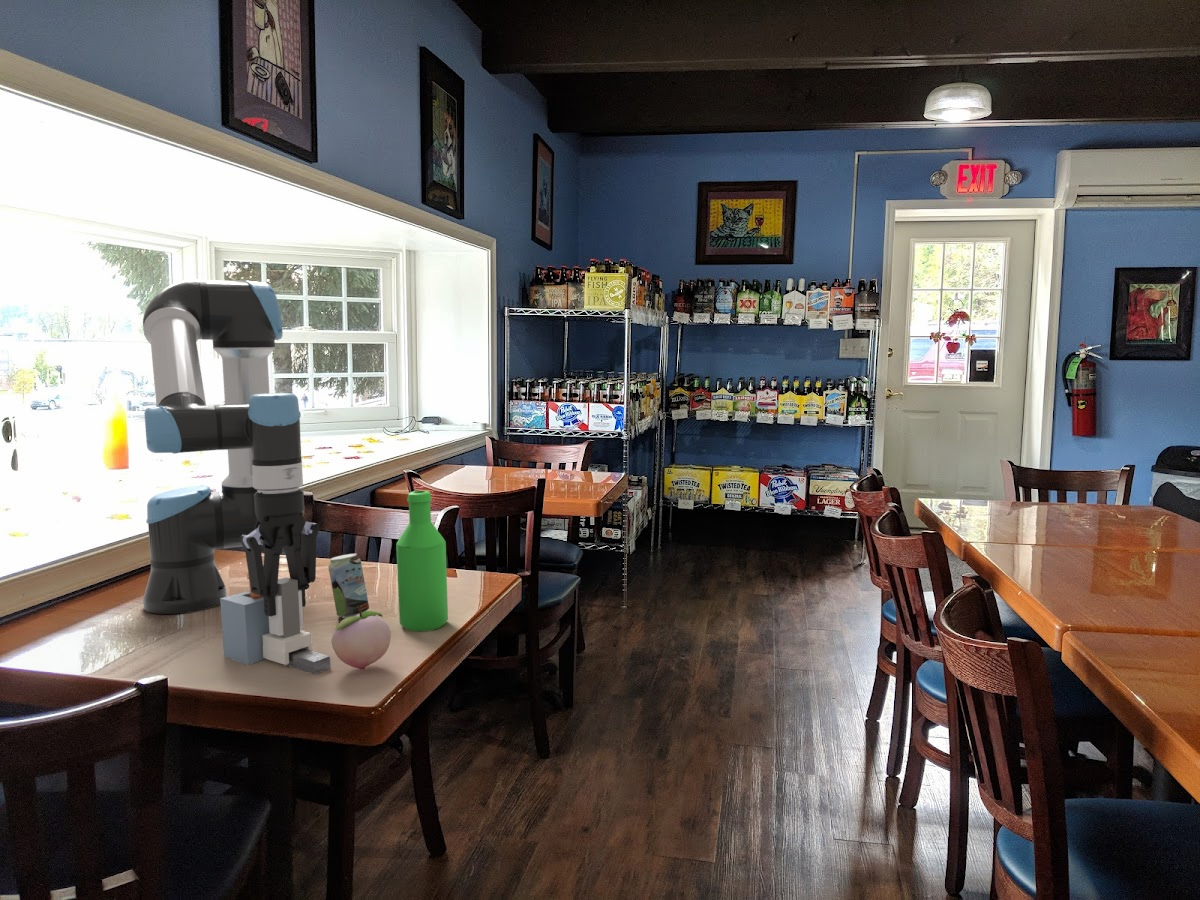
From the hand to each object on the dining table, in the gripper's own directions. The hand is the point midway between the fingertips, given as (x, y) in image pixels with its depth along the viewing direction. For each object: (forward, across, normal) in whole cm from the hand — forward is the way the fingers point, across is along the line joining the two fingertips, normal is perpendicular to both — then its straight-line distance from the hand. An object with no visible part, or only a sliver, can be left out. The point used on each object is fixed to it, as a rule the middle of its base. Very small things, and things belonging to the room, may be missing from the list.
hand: (286, 630), depth 140 cm
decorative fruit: (+5, +4, -14) cm, 16 cm away
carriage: (+5, 0, 0) cm, 5 cm away
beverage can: (+5, +21, +10) cm, 24 cm away
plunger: (-4, 0, +7) cm, 8 cm away
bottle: (+5, +25, -6) cm, 26 cm away
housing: (+5, 0, +7) cm, 9 cm away
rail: (+5, 0, -3) cm, 6 cm away
